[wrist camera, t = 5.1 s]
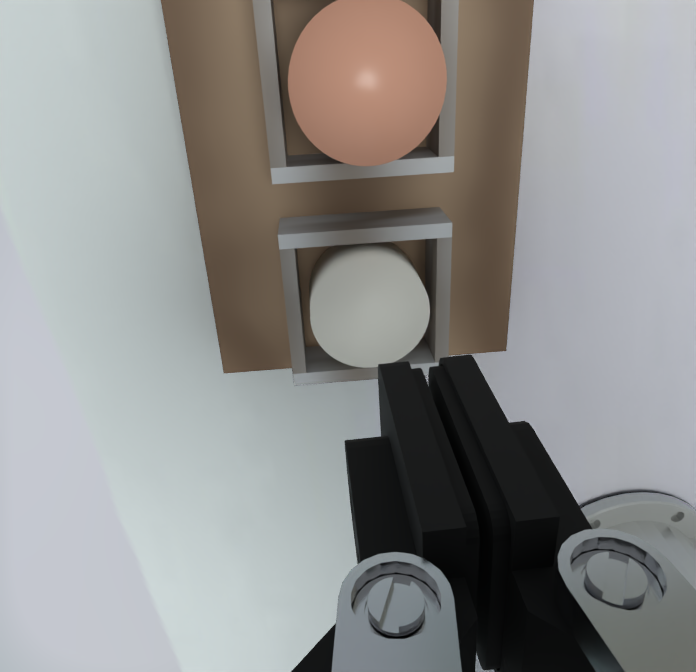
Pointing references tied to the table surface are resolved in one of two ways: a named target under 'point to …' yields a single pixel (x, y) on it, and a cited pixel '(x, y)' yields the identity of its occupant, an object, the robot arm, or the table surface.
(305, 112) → the middle button
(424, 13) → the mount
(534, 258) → the table surface
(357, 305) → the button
